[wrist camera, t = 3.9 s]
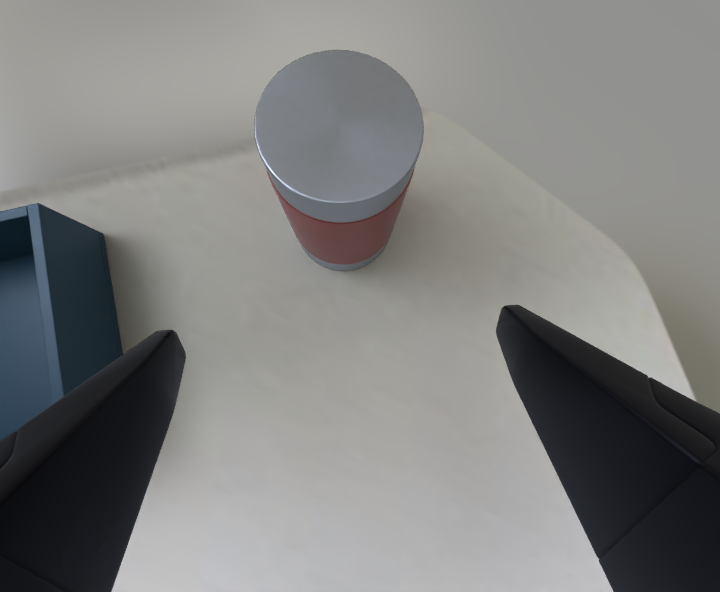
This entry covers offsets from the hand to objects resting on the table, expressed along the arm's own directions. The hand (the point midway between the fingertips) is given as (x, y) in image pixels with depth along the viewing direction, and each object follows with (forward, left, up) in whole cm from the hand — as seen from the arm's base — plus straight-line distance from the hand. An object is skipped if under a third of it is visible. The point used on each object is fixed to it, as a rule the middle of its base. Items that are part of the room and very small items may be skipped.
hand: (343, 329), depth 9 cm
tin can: (+2, -8, -13) cm, 16 cm away
